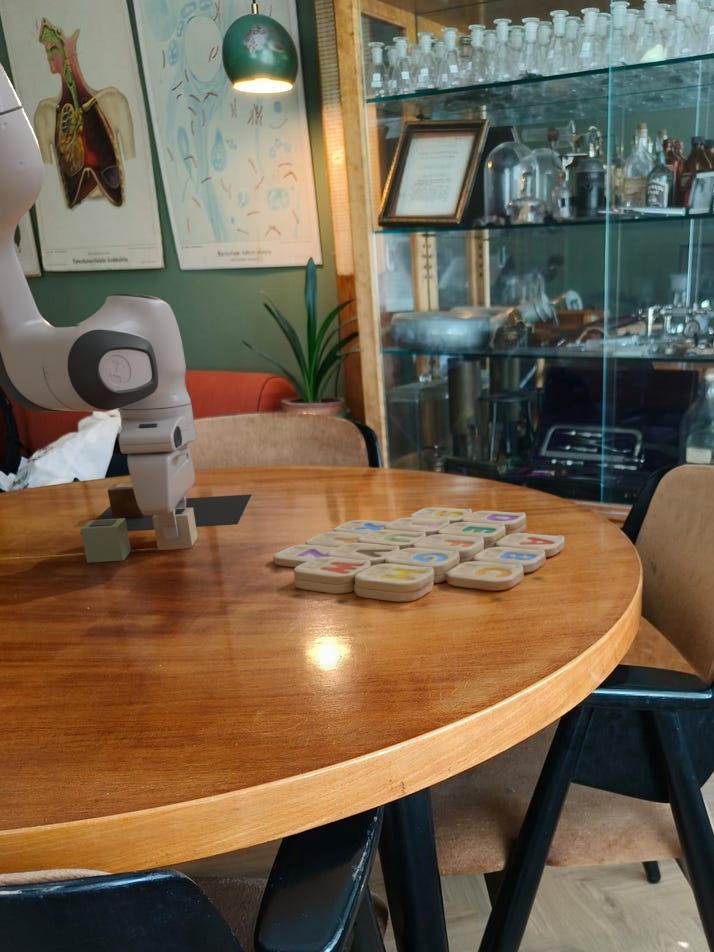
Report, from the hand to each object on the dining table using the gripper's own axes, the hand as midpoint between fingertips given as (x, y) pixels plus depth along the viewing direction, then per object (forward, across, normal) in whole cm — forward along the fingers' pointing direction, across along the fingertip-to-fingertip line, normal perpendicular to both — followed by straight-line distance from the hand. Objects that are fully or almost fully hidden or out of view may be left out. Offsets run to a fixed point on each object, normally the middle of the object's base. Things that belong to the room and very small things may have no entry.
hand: (176, 532), depth 119 cm
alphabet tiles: (+2, +13, +32) cm, 35 cm away
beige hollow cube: (+2, 0, 0) cm, 2 cm away
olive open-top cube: (+2, +4, -8) cm, 9 cm away
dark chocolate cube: (+1, -18, -10) cm, 21 cm away
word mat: (+2, -18, -4) cm, 19 cm away
